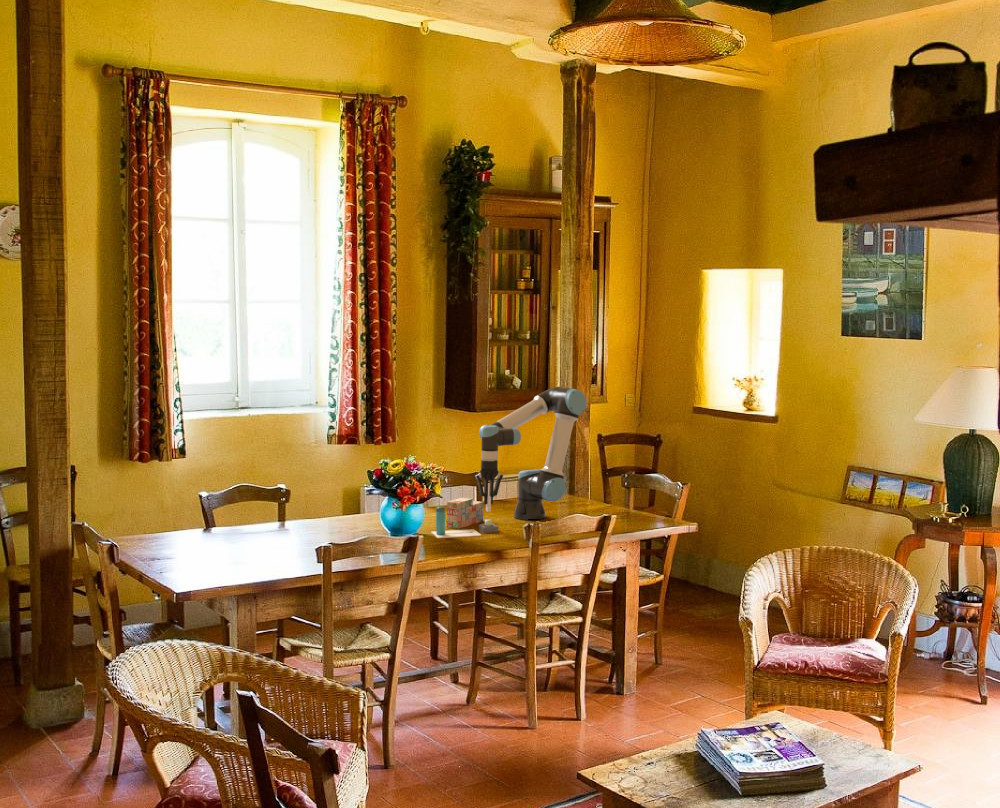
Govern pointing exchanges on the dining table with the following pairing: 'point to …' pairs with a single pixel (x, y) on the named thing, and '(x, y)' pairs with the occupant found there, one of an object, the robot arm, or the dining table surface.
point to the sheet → (457, 533)
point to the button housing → (488, 528)
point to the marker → (440, 520)
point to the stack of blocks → (463, 512)
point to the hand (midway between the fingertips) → (488, 511)
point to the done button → (488, 522)
